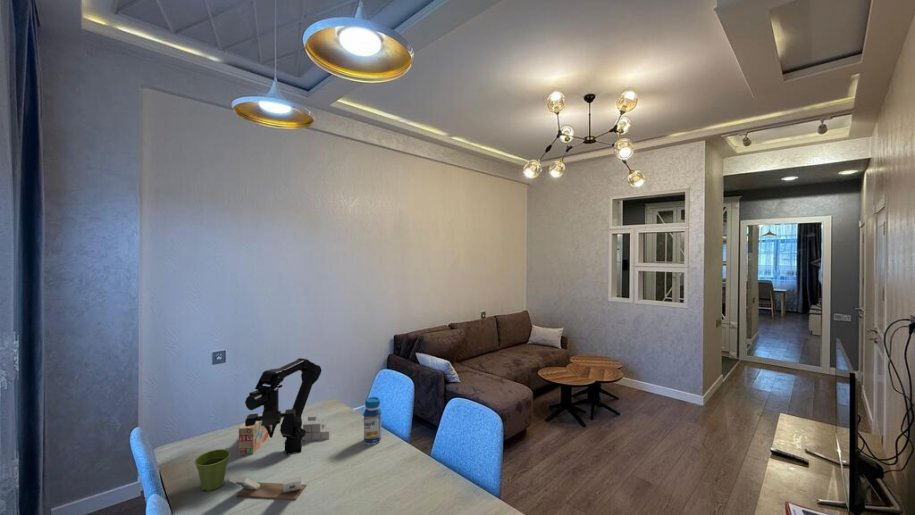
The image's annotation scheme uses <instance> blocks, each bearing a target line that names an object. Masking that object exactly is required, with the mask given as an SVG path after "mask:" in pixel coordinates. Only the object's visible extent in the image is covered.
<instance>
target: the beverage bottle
mask: <svg viewBox="0 0 915 515" xmlns="http://www.w3.org/2000/svg"><path fill="white" fill-rule="evenodd" d="M380 401H381V400H380V398H379V397H376V396H372V397H368V398H366V399H365V403H364V404H365V410H364V412H363V442H364V443H365V444H366V445H369V444H372V445H377V444H379V443H380V442H381V441H382V421H383V420H382V418H383V417H382V410H381V408H380V405H381V402H380ZM378 442H379V443H378ZM376 443H377V444H376Z"/></svg>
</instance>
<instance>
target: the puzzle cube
mask: <svg viewBox="0 0 915 515" xmlns="http://www.w3.org/2000/svg"><path fill="white" fill-rule="evenodd" d="M318 416H319V414H318V413H310V414H309V415H308V416H307V420H305V421H304V423H302V429H304V430H305V431H306V432H305V436H304V437H303V438H302V440H303V441H318V440H319V441H321V440H322V439H323V440H330V438H331V434H332V433H331V432H332V431H331V427H327V420H322V419H321V420H318V418H319V417H318ZM323 440H322V441H323Z"/></svg>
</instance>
